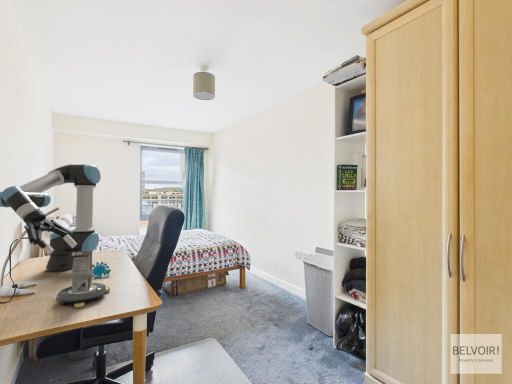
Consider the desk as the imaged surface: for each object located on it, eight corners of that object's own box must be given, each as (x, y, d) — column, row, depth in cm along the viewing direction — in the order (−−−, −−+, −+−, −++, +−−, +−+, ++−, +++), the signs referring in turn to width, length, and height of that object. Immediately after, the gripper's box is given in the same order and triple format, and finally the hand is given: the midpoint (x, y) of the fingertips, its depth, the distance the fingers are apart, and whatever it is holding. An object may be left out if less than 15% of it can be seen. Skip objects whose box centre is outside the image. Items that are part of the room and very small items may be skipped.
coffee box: (76, 286, 122) (76, 251, 122) (92, 285, 124) (92, 250, 124) (71, 293, 113) (71, 255, 114) (88, 291, 116) (89, 254, 116)
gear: (85, 276, 145) (92, 260, 152) (87, 281, 149) (94, 265, 156) (106, 278, 147) (113, 262, 154) (108, 283, 151) (114, 267, 158)
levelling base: (74, 289, 130) (74, 280, 130) (115, 290, 129) (116, 281, 129) (37, 307, 109) (37, 296, 109) (85, 309, 108) (86, 298, 108)
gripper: (48, 218, 133) (77, 248, 132) (-2, 224, 108) (33, 262, 107) (59, 207, 133) (88, 238, 132) (10, 211, 108) (46, 249, 107)
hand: (63, 249), depth 120 cm, fingers open, 13 cm apart
